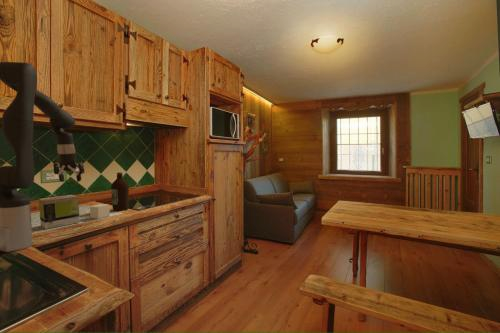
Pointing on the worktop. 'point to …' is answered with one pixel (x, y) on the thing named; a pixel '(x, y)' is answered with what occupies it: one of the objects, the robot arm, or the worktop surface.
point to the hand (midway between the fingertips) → (70, 181)
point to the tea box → (59, 211)
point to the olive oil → (120, 193)
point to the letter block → (99, 211)
